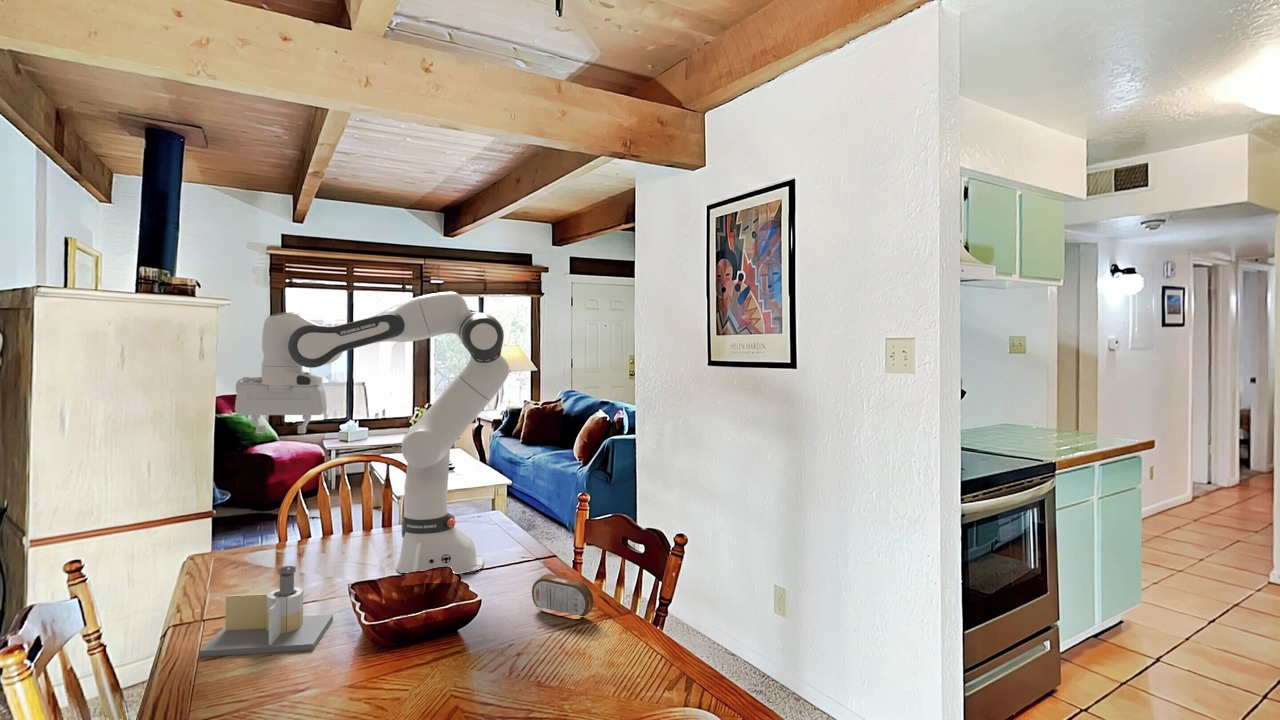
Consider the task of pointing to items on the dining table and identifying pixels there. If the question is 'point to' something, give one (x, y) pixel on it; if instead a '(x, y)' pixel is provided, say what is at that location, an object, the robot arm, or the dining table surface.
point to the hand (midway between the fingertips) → (281, 433)
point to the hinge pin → (286, 580)
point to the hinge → (266, 625)
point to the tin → (562, 595)
